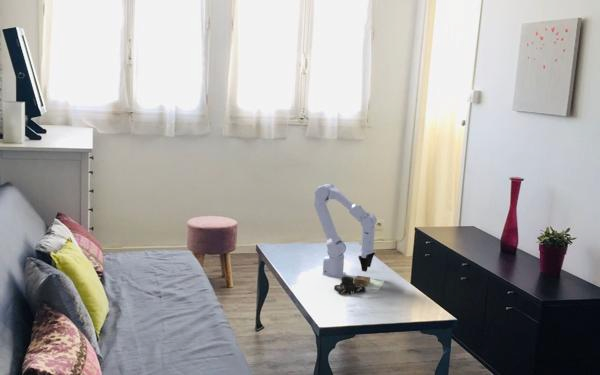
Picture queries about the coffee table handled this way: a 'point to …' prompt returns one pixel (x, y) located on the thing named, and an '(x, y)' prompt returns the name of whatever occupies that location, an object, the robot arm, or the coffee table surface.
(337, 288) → the film camera
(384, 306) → the coffee table surface
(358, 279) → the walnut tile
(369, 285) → the mat
